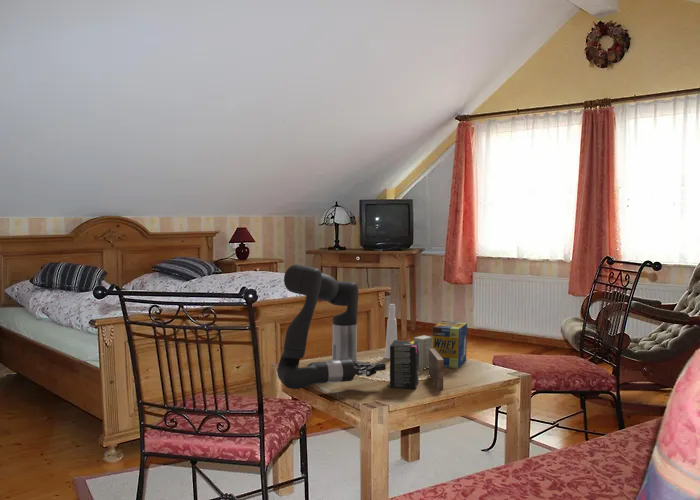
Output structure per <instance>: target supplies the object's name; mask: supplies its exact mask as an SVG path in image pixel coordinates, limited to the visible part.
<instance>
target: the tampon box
mask: <svg viewBox="0 0 700 500" xmlns="http://www.w3.org/2000/svg"><path fill="white" fill-rule="evenodd" d="M419 371H420V370H419V341H414V340H402V339H401V340H398V339H397V340H394V341H393V343H392V344H391V345H390V359H389V387H390V388H395V389H396V388H397V389H398V388H399V389H410V390H415V389H417V386H418V385H419V383H420V382H419V380H420V377H419V374H420V373H419Z"/></svg>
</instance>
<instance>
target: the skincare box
mask: <svg viewBox="0 0 700 500" xmlns="http://www.w3.org/2000/svg"><path fill="white" fill-rule="evenodd" d="M413 341H419V369H424V368H428V367H429V349H432V342H433V336H430V335H418V336H414V337H413Z"/></svg>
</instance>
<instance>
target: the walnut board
mask: <svg viewBox="0 0 700 500" xmlns="http://www.w3.org/2000/svg"><path fill="white" fill-rule="evenodd" d="M444 368H445V367H444V360H443V358H442V357H441V356H440V355H439V353H438V352H437V351H436V350H435V349H429V369H428V376H429V375H430V377H431V378H430V377H429V378H430V380H431V379H432V380H431V381H432V383H433V384H434V386H435V387H436V389H437V390H443V389H444Z"/></svg>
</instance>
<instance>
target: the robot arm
mask: <svg viewBox="0 0 700 500" xmlns="http://www.w3.org/2000/svg"><path fill="white" fill-rule="evenodd" d="M283 276H284V277H283V283H284V287H285V288H286V290H287V291H289V292H290V293H292V294H297V295H302V296H305V300H304V303H303V307H302V308H301V309H300V311H299V313H298V314H297V315H296V317H294V319H293V320H292V321H291V322H290V323H289V326H288V327H287V329H286V332H285V338H284V342H283V343H284V344H283V352H282V354H281V356H280V360H279V363H278V367H277V376H278V377H277V378H278V379H279V381H280V382H281V383H282V384H283V385H284V386H285V387H286V388H288V389H291V390H299V389H302V388H303V389H304V388H306V387H309V386H312V385H316V384H317V385H318V384H329V383H330V384H336V383H345V382H351V381H353V380H354V378H355V376H358V377H362V376H364V375H365V377H371V376H373V375H375V374H377V372H379V371H380V372H381V371H385V370H386V367H387V365H386V363H384V362H380V363H379V362H377V363H375V362H370V361H359V360H358V359H357V356H358V355H357V354H358V351H357V349H358V347H357V346H358V313H359V312H358V310H359V309H358V306H359V286H358V284H357V282H354V281H339V280H336V279H335V278H334V277H333V276H332V275H329V274H326V273H324V272H321V270H320V269H319V268H316V267H311V266H307V265H302V264H293V265H291V266H289V267H288V268H287V269H286V271H285V273H284V275H283ZM318 300H319V301H323V302H328V303H330V304H331V305H333V306H339V307H341V306H342V307H346V310H345V311H344V312H342V313H339V314H335V315H333V317H332V348H331V351H332V353H331V354H332V355H331V358H332V359H330V360H323V361H314V362H310V363H308V364H307V365H306V366H305V367H299V365H300V361H301V359H303V357H304V356H305V354H306V348H307V343H308V335H309V330H310V325H311V322H312V319H313V316H314V312H315V309H316V306H317V302H318Z"/></svg>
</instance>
